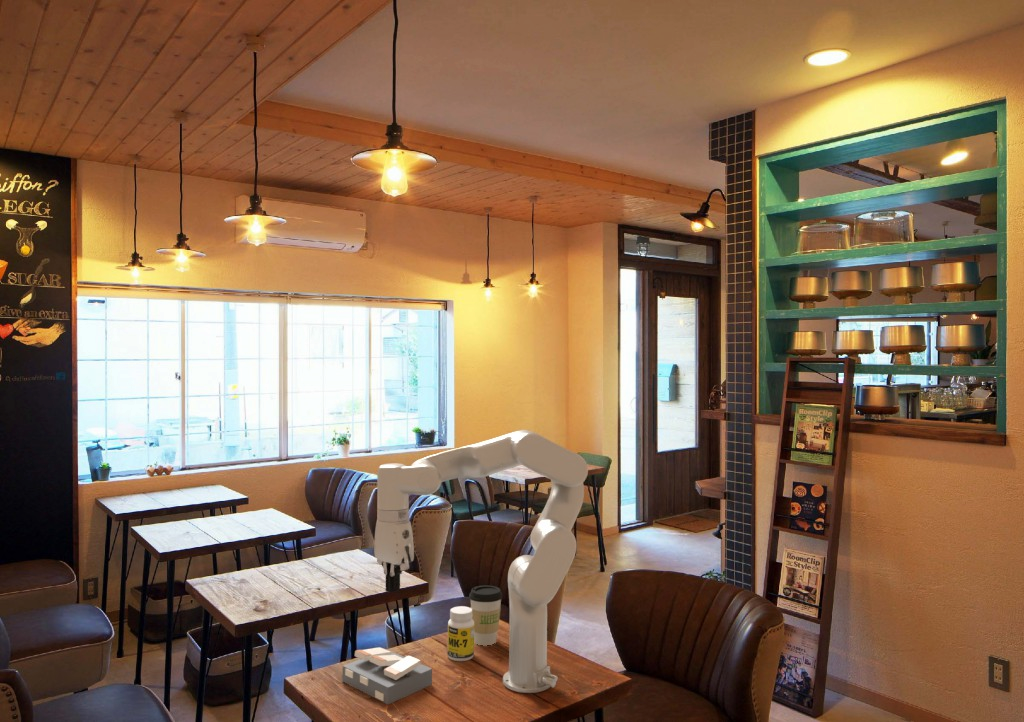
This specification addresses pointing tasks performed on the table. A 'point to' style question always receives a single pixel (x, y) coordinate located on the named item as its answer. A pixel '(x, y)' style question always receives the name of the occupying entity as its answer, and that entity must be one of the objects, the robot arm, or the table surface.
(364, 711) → the table surface
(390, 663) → the rocker
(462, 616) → the supplement bottle
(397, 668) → the block
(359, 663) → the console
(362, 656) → the block
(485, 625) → the coffee cup
